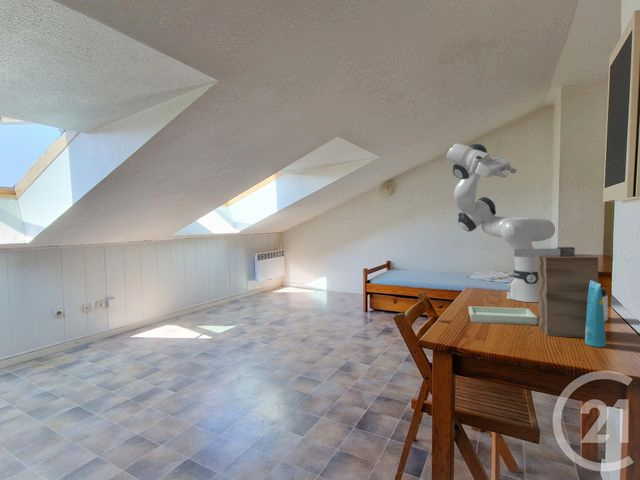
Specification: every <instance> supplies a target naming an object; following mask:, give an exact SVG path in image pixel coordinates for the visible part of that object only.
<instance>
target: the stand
mask: <svg viewBox="0 0 640 480" xmlns="http://www.w3.org/2000/svg"><path fill="white" fill-rule="evenodd" d="M590 280H592V281H594V282H596V283H599V256H593V255H589V254H575V257H538V302H537V305H538V306H537V307H538V308H537V309H538V310H537V311H538V314H537V315H538V316H537V319H538V328H539V329H540V330H541V331H542V332H543V334H545V335H546V336H549V337H550V336H551V337H564V338H565V337H566V338H579V339H580V338H581V339H585V332H586V314H587V300H588V290H589V284H590Z"/></svg>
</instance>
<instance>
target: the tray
mask: <svg viewBox="0 0 640 480" xmlns="http://www.w3.org/2000/svg"><path fill="white" fill-rule="evenodd" d="M468 315H470V316H469V318H470V321H471V323H485V324H486V323H487V324H503V325H519V326H520V325H522V326H523V325H524V326H538V316H537V315H536V314H534V313H533V311H531V310H530V309H529V308H520V307H499V306H497V307H496V306H495V307H494V306H471V305H469V306H468Z"/></svg>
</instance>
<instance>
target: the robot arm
mask: <svg viewBox="0 0 640 480" xmlns="http://www.w3.org/2000/svg"><path fill="white" fill-rule="evenodd" d="M445 157H446V159H447V160H448V161H449V162H450V163H451V166H452V173H453V175H454V177H455V178H458V179H460V181H459V182H457V185H456V186H455V187H454V191H453V199H454V204H455V205H456V208H458V209H459V210H460V212H459V213H458V215H457V216H458V217H457V219H458V220H457V221H458V225H459V226H460V228H461V229H462V230H464V231H466V232H473V231H475V230H476V229H477V228H478V227H479V226H480V225H481V229H482V232H484V233H485V234H487V235H489V236H492V237H498V238H502V240H504V241H505V242H506V243H508V245H509V246H510V248H511V250H512V253H513V254H514V249H535V248H534V247H533V244H532V242H542V241H546V240H550V239H551V238H553V237H554V235H555V233H556V227H555V224H554V223H553V222H552V221H551V220H549V219H544V218H534V217H533V218H532V217H509V216H496V214H497V211H496V205H495V202H494V201H493V200H491V199H490V198H488V197H485V196H482V197H480V198H478V199H477V200H476V196H477V191H478V190H477V189H478V184H479V182H480V181H479V180H480V177H481V176H482V177H484V178H485V177H486V178H492V177H494V176H495V177H501V178H504V179H505V178H507V177H508V176H509V174H510V173H511V174H516V173H517V171H518V169H516V168H514V167H513V166H511V161H509V160H507V159H504V158H500V157H496V156H494V157H491V154H490V153H488V150H487V148H486V146H485V145H483V144H481V143H472V144H469V145H465V144H462V143H453V144H452V145H451V146H450V147H449V149H448V150H447V153H446V155H445ZM505 171H507V172H505ZM508 172H510V173H508ZM513 260H514V270H513V273H512V274H513V279H512V281H511V283H508V284H507V289H509V290H508V291H507V292H506V300H514V301H518V302H525V303H526V302H527V303H538V257H515V256H514V255H513Z"/></svg>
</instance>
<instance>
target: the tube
mask: <svg viewBox="0 0 640 480" xmlns="http://www.w3.org/2000/svg"><path fill="white" fill-rule="evenodd" d="M601 285H602V284H601V283H599V282H598V283H596V282H594V281H592V280H590V284H589V290H588V300H587V314H586V332H585V338H584V343H585V345H588V346H591V347H596V348H604V347H606V346H607V345H606V340H607V339H606V324H605V322H606V321H605V322H604V308H603V299H602V292H601V287H602V286H601Z"/></svg>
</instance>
